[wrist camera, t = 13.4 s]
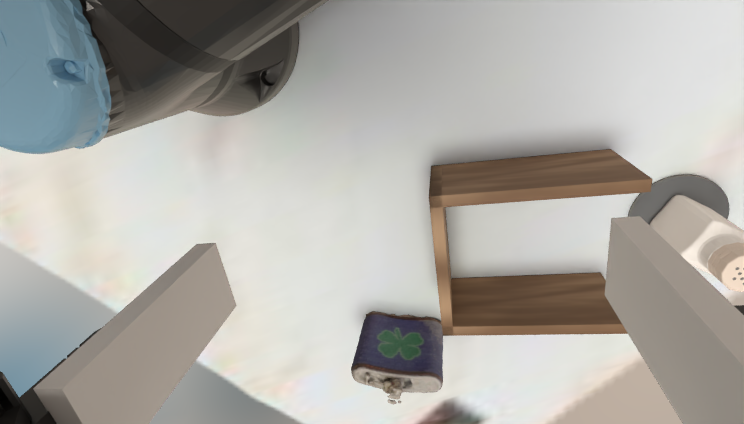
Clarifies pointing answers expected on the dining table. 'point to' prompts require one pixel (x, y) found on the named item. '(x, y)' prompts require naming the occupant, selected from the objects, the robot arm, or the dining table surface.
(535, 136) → the dining table surface
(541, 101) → the dining table surface
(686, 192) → the slate coaster
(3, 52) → the robot arm
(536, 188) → the wooden u-shaped frame
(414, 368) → the flask
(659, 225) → the pepper shaker
